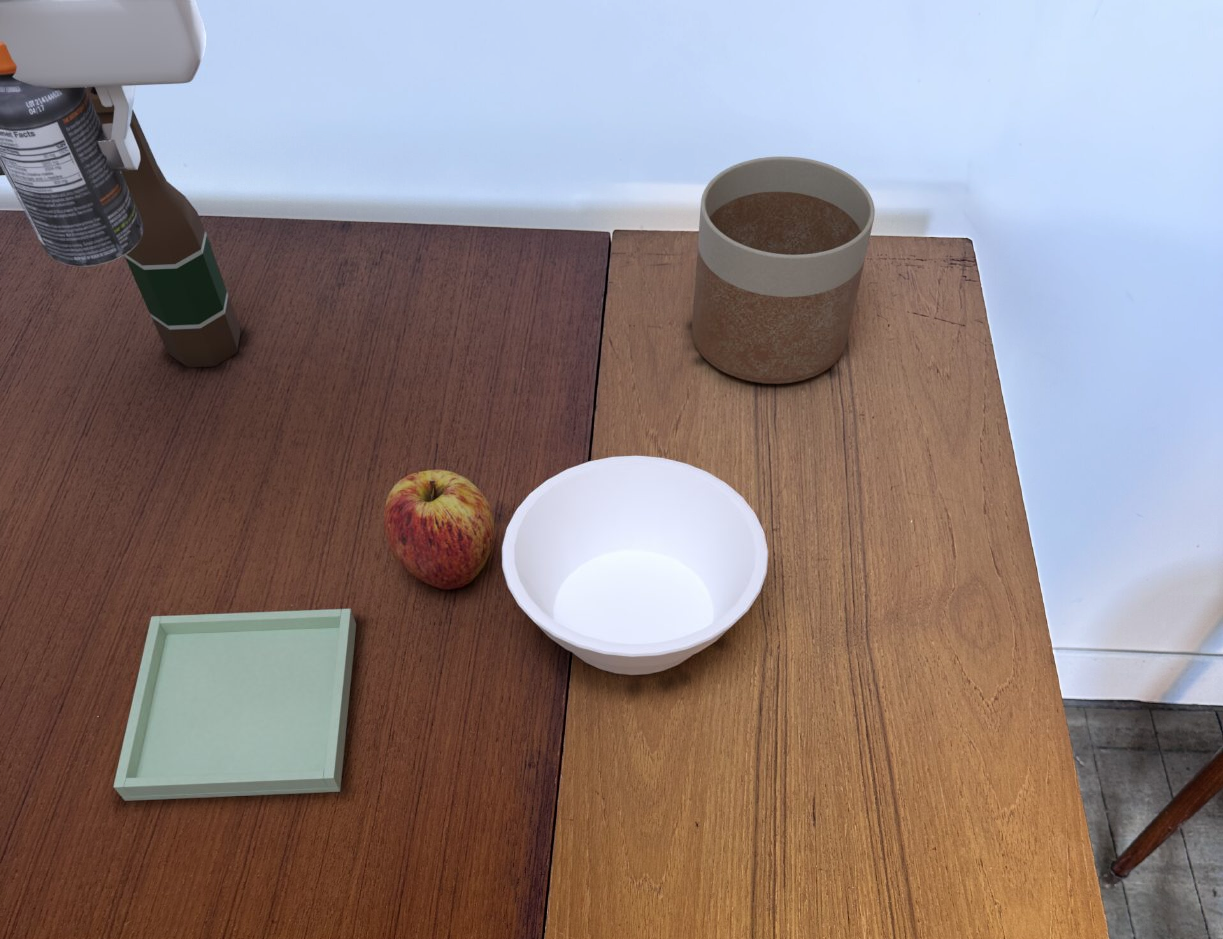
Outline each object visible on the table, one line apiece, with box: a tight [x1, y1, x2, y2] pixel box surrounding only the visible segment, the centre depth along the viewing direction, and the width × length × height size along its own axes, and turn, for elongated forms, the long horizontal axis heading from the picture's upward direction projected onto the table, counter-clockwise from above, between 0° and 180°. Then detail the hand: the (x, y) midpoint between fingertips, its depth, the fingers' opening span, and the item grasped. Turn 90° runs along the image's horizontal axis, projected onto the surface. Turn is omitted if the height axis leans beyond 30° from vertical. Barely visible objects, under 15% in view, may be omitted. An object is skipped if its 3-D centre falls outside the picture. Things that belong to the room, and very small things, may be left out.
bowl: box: [501, 455, 769, 676], centre depth 83 cm, size 21×21×8 cm
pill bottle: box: [0, 42, 144, 268], centre depth 56 cm, size 6×6×11 cm
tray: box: [113, 608, 357, 802], centre depth 81 cm, size 17×17×2 cm
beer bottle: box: [86, 87, 242, 369], centre depth 94 cm, size 8×8×24 cm
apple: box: [383, 469, 496, 591], centre depth 85 cm, size 9×9×10 cm
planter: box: [691, 156, 876, 385], centre depth 98 cm, size 16×16×14 cm
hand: (61, 168), depth 57 cm, fingers closed on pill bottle, 6 cm apart
